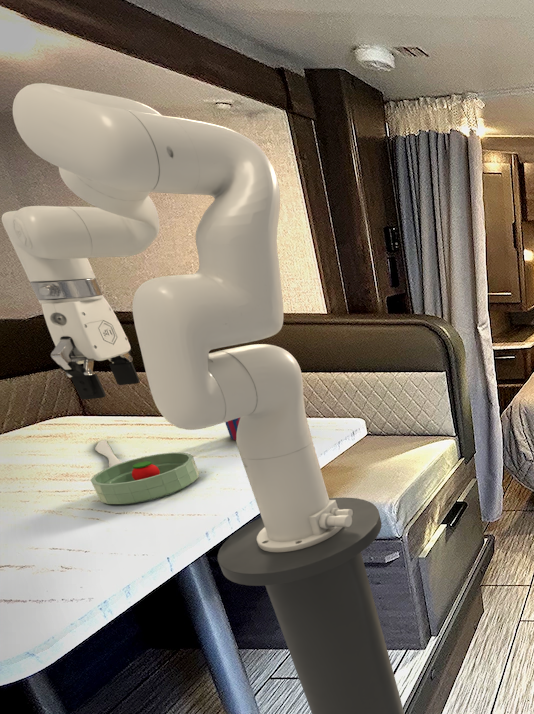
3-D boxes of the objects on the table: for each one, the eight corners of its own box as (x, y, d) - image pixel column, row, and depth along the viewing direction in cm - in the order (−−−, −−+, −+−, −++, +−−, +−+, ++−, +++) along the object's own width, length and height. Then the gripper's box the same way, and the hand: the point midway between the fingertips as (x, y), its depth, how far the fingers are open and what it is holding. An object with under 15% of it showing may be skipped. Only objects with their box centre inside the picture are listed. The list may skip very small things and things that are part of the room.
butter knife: (105, 471, 103) (124, 466, 105) (92, 442, 119) (109, 438, 121) (106, 474, 103) (126, 468, 105) (93, 444, 119) (110, 440, 121)
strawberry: (169, 481, 98) (160, 459, 97) (151, 490, 95) (141, 468, 93) (151, 481, 98) (142, 459, 97) (132, 490, 95) (122, 468, 93)
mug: (266, 428, 127) (258, 403, 124) (259, 441, 118) (250, 414, 116) (234, 433, 124) (225, 407, 121) (224, 447, 115) (214, 419, 113)
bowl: (218, 472, 103) (210, 452, 101) (153, 507, 90) (143, 485, 88) (152, 472, 104) (144, 452, 102) (78, 507, 91) (67, 484, 89)
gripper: (59, 294, 76) (107, 401, 82) (128, 286, 92) (164, 376, 98) (-5, 298, 74) (49, 407, 80) (77, 289, 90) (117, 381, 96)
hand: (112, 390), depth 89 cm, fingers open, 9 cm apart
